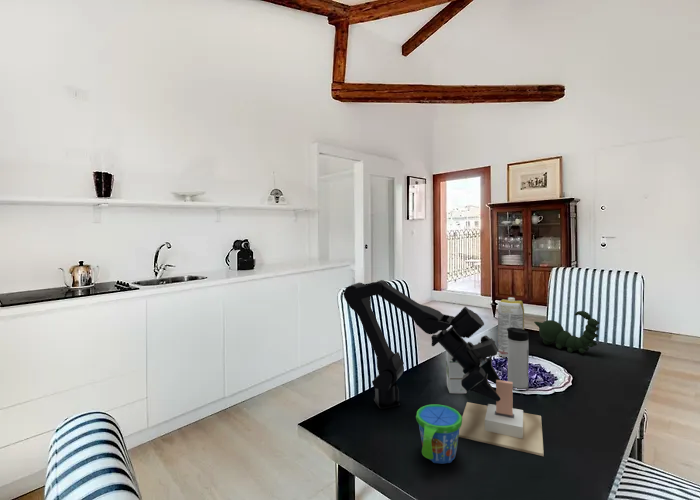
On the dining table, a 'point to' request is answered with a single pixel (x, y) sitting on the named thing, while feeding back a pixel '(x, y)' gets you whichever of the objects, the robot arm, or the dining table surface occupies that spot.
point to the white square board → (504, 422)
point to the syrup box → (454, 376)
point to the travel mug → (518, 357)
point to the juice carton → (508, 321)
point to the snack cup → (439, 432)
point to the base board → (476, 431)
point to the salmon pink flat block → (504, 397)
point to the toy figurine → (556, 333)
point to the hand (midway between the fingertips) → (500, 392)
